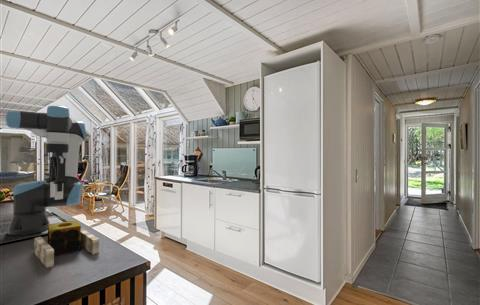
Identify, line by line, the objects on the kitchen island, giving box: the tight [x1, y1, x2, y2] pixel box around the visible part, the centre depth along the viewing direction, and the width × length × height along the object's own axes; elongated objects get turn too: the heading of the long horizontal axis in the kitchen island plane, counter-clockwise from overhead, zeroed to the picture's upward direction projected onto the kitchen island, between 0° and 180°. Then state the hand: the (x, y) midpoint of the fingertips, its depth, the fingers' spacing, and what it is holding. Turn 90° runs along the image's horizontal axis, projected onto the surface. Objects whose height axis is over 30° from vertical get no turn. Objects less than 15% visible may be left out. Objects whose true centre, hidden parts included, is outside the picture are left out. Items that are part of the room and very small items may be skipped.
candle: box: [46, 219, 82, 257], centre depth 94 cm, size 10×10×10 cm
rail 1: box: [33, 236, 55, 269], centre depth 86 cm, size 18×2×6 cm, turn 51°
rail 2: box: [80, 227, 100, 256], centre depth 97 cm, size 18×2×6 cm, turn 50°
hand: (56, 197), depth 101 cm, fingers open, 6 cm apart
